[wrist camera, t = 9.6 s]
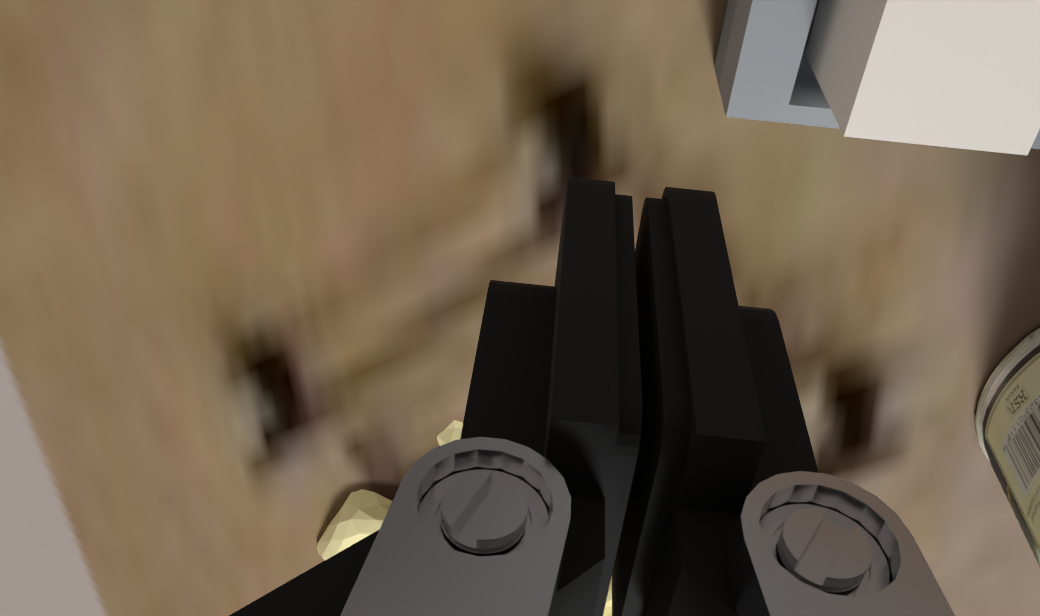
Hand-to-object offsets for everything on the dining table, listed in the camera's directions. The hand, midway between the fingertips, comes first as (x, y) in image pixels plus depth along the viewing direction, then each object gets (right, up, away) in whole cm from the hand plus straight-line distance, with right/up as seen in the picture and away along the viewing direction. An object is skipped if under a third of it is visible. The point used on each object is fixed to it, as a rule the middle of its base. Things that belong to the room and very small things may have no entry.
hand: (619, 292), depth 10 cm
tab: (+8, +8, +12) cm, 16 cm away
